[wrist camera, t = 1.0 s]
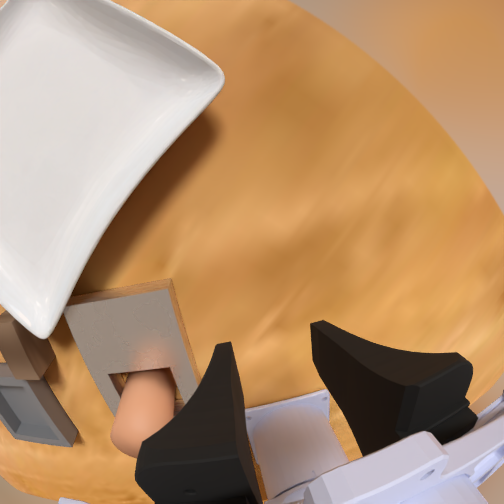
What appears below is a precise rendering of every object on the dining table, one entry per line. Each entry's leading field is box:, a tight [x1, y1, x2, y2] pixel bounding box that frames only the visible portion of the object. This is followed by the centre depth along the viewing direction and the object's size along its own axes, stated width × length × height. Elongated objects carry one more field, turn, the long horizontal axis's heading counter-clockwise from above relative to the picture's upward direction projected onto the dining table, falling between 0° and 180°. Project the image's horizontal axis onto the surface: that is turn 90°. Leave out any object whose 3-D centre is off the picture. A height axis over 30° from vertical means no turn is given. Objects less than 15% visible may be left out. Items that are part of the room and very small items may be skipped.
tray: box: [0, 363, 78, 447], centre depth 19 cm, size 9×9×2 cm
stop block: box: [0, 310, 56, 380], centre depth 17 cm, size 5×3×4 cm, turn 9°
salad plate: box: [0, 0, 225, 339], centre depth 13 cm, size 21×21×3 cm
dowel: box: [110, 367, 176, 458], centre depth 18 cm, size 4×4×7 cm
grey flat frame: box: [63, 278, 201, 418], centre depth 19 cm, size 12×8×2 cm
